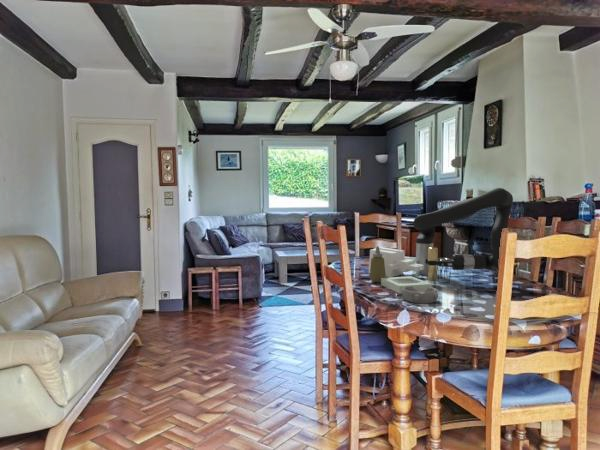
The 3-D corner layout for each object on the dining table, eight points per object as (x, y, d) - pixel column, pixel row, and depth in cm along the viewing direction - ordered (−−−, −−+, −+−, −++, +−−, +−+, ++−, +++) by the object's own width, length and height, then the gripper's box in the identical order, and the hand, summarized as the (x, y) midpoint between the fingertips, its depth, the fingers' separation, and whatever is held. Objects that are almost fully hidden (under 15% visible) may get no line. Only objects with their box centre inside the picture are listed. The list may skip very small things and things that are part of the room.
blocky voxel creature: (408, 285, 215) (361, 275, 233) (429, 278, 234) (384, 269, 252) (411, 256, 214) (363, 248, 232) (431, 251, 232) (386, 244, 250)
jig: (381, 285, 208) (381, 277, 208) (411, 283, 212) (411, 275, 212) (399, 293, 189) (399, 285, 189) (431, 291, 192) (432, 283, 192)
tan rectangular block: (426, 279, 208) (426, 247, 207) (434, 279, 209) (434, 247, 208) (430, 281, 204) (431, 248, 203) (438, 281, 205) (439, 248, 204)
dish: (399, 296, 184) (399, 285, 184) (431, 296, 184) (431, 285, 183) (406, 305, 170) (406, 292, 169) (441, 304, 169) (442, 292, 169)
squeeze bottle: (388, 281, 218) (388, 246, 217) (380, 283, 212) (380, 247, 211) (375, 279, 223) (375, 245, 222) (366, 281, 217) (366, 246, 216)
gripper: (457, 252, 212) (423, 252, 213) (467, 256, 198) (430, 256, 199) (457, 267, 213) (423, 267, 214) (467, 272, 199) (430, 272, 199)
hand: (427, 262), depth 206 cm, fingers closed on tan rectangular block, 4 cm apart
